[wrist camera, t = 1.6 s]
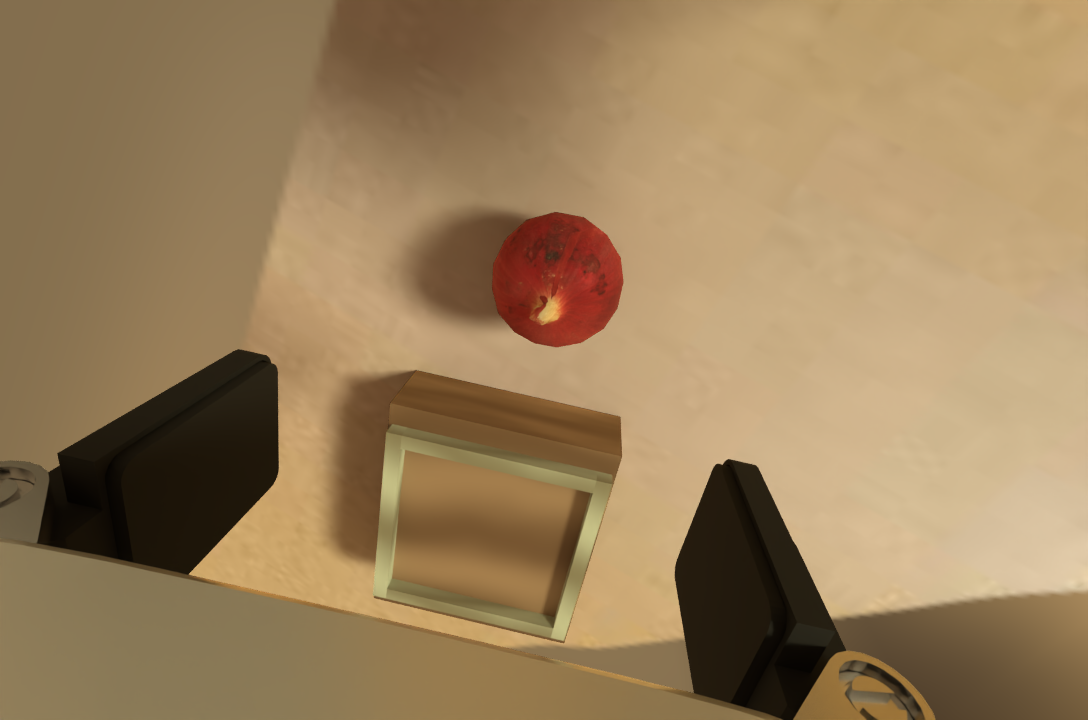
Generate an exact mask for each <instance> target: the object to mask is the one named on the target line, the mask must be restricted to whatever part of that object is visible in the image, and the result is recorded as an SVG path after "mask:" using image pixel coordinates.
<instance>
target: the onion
mask: <svg viewBox="0 0 1088 720" xmlns="http://www.w3.org/2000/svg"><path fill="white" fill-rule="evenodd" d="M622 286H623V274H622V265H621V258H620V256H619V254H618V253H617V251H616V249H615V248H614V246H613V244H612V243H611V241H610V239H609V238H608V236H607V235H606V234H605V233H604V232H603V231H601V230H600V229H599V228H597V227H596V226H595V225H593V224H592V223H591V222H589V221H588V220H587V219H586V218H584V217H579V216H574V215H569V214H563V213H558V212H554V213H550V214H546V215H543V216H539V217H535V218H532V219H528V220H526V221H525V222H524V223H523V224H522V225H521V226H520V227H518V228H517V229H516V230H515V231H514V232H513V233H512V234H511V235H509V236H508V237H507V239H506V240H505V241H504V243H503V245H502V248H501V250H500V252H499V254H498V256H497V258H496V260H495V262H494V264H493V281H492V290H493V294H494V298H495V302H496V306H497V310H498V313H499V315H500V316H501V317H502V318H503V319H504V320H505V322H506V323H507V324H508V325H509V326H510V327H511V329H512V330H513V331H514V332H515V333H517V334H519V335H521V336H523V337H524V338H526V339H528V340H530V341H531V342H533V343H536V344H542V345H547V346H552V347H561V346H566V345H572V344H577V343H581V342H583V341H585V340H586V339H588V338H590V337H591V336H593V335H594V334H596V333H598V332H599V331H601V330H602V329H604V327H605V326H606V324H607V323H608V321H609V320H610V319H611V317H612V316H613V314H614V313H615V311H616V310H617V307H618V304H619V299H620V295H621V290H622Z"/></svg>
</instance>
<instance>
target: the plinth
mask: <svg viewBox="0 0 1088 720" xmlns="http://www.w3.org/2000/svg"><path fill="white" fill-rule="evenodd" d="M621 458H622V444H621V419H620V417H618V416H614V415H610V414H605V413H601V412H597V411H592V410H588V409H583V408H579V407H575V406H570V405H566V404H561V403H557V402H553V401H548V400H544V399H540V398H535V397H531V396H526V395H522V394H518V393H513V392H509V391H505V390H500V389H496V388H491V387H487V386H483V385H478V384H474V383H469V382H465V381H461V380H456V379H452V378H448V377H443V376H439V375H434V374H430V373H426V372H421V371H417V370H416V372H415V373H414V374H413V375H412V376H411V378H410V379H409V380H408V381H407V383H406V384H405V385H404V386H403V388H402V389H401V390H400V391H399V393H398V394H397V395H396V396H395V398H394V399H393V400H392V401H391V403H390V410H389V422H388V430H387V432H386V441H385V453H384V465H383V478H382V490H381V502H380V514H379V527H378V539H377V551H376V563H375V576H374V588H373V596H374V598H376V599H380V600H385V601H389V602H393V603H397V604H401V605H405V606H410V607H414V608H418V609H422V610H426V611H431V612H435V613H439V614H443V615H447V616H451V617H456V618H460V619H464V620H468V621H472V622H477V623H481V624H485V625H489V626H493V627H497V628H502V629H506V630H510V631H514V632H518V633H522V634H527V635H531V636H535V637H539V638H543V639H548V640H552V641H556V642H560V643H564V642H565V639H566V636H567V632H568V629H569V626H570V623H571V619H572V616H573V613H574V610H575V607H576V603H577V600H578V597H579V594H580V590H581V587H582V584H583V581H584V578H585V574H586V571H587V568H588V565H589V561H590V558H591V555H592V552H593V549H594V545H595V542H596V539H597V536H598V532H599V529H600V526H601V523H602V519H603V516H604V513H605V510H606V507H607V503H608V500H609V497H610V494H611V490H612V487H613V484H614V481H615V478H616V474H617V471H618V468H619V465H620V461H621Z"/></svg>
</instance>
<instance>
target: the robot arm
mask: <svg viewBox="0 0 1088 720" xmlns="http://www.w3.org/2000/svg"><path fill="white" fill-rule="evenodd" d="M58 459H59V464H60V466H58V467H57V468H55V469H53V470H52V471H50V472H47V470H45V469H44V468H43V467H42V466H40V465H37V464H34V463H31V462H25V461H0V720H936V719H935V717H934V714H933V712H932V710H931V709H930V707H929V706H928V704H927V703H926V701H925V699H924V698H923V696H922V695H921V694H920V693H919V692H918V691H917V690H916V689H915V688H914V687H913V685H912V684H911V683H910V682H909V681H908V680H906V679H905V678H904V677H903V676H902V675H900V674H899V673H898V672H896V671H895V670H894V669H893V668H891V667H890V666H888V665H886V664H885V663H883V662H881V661H880V660H878V659H876V658H873V657H871V656H868V655H866V654H863V653H859V652H853V651H846V649H845V647H844V645H843V643H842V641H841V638H840V636H839V634H838V632H837V630H836V628H835V626H834V624H833V622H832V620H831V617H830V615H829V613H828V611H827V609H826V607H825V605H824V603H823V601H822V599H821V596H820V594H819V592H818V590H817V588H816V586H815V584H814V582H813V580H812V578H811V576H810V573H809V571H808V569H807V567H806V565H805V563H804V561H803V559H802V557H801V555H800V552H799V550H798V548H797V546H796V545H795V543H794V542H793V540H792V538H791V536H790V534H789V532H788V530H787V528H786V525H785V523H784V521H783V519H782V517H781V515H780V513H779V511H778V509H777V506H776V504H775V502H774V500H773V498H772V496H771V494H770V492H769V490H768V487H767V485H766V483H765V481H764V479H763V477H762V475H761V473H760V471H759V469H758V467H757V466H756V465H752V464H748V463H744V462H739V461H735V460H730V459H728V460H726V461H725V462H724V464H723V465H721V464H716V465H715V466H714V468H713V470H712V472H711V475H710V478H709V480H708V483H707V485H706V488H705V490H704V493H703V495H702V498H701V500H700V503H699V505H698V508H697V510H696V513H695V516H694V518H693V521H692V523H691V526H690V528H689V531H688V533H687V536H686V538H685V541H684V543H683V546H682V548H681V551H680V554H679V556H678V559H677V562H676V566H675V582H676V588H677V594H678V600H679V606H680V612H681V618H682V624H683V630H684V636H685V642H686V648H687V654H688V659H689V666H690V672H691V678H692V684H693V690H694V693H691V692H688V691H683V690H679V689H675V688H671V687H666V686H662V685H658V684H653V683H650V682H646V681H642V680H638V679H633V678H630V677H626V676H622V675H618V674H614V673H610V672H606V671H601V670H597V669H593V668H588V667H585V666H580V665H576V664H572V663H568V662H564V661H559V660H555V659H551V658H547V657H542V656H537V655H534V654H530V653H526V652H521V651H517V650H513V649H509V648H505V647H500V646H496V645H492V644H488V643H484V642H479V641H475V640H471V639H467V638H462V637H458V636H454V635H449V634H445V633H441V632H436V631H432V630H428V629H424V628H419V627H415V626H411V625H406V624H402V623H398V622H393V621H389V620H385V619H380V618H376V617H372V616H367V615H363V614H359V613H354V612H350V611H346V610H341V609H337V608H333V607H328V606H324V605H320V604H315V603H311V602H307V601H302V600H298V599H293V598H289V597H285V596H280V595H276V594H271V593H267V592H262V591H258V590H253V589H249V588H245V587H240V586H236V585H231V584H227V583H222V582H218V581H214V580H209V579H205V578H200V577H196V576H191V575H188V574H189V573H190V572H191V571H192V570H193V569H194V568H195V567H196V566H197V565H198V564H199V563H200V562H201V561H202V559H203V558H204V557H205V556H206V555H207V554H208V553H209V552H210V551H211V550H212V549H213V548H214V547H215V546H216V545H217V544H218V543H219V542H220V540H221V539H222V538H223V537H224V536H225V535H226V534H227V533H228V532H229V531H230V530H231V529H232V528H233V527H234V526H235V525H236V524H237V523H238V521H239V520H240V519H241V518H242V517H243V516H244V515H245V514H246V513H247V512H248V511H249V510H250V509H251V508H252V507H253V506H254V505H255V504H256V502H257V501H258V500H259V499H260V498H261V497H262V496H263V495H264V494H265V493H266V492H267V491H268V490H269V489H270V488H271V486H272V485H273V484H274V482H275V480H276V478H277V475H278V469H279V454H278V371H277V367H276V365H274V364H271V361H270V358H269V357H268V356H267V355H262V354H258V353H253V352H249V351H244V350H239V349H238V350H235V351H233V352H232V353H230V354H228V355H227V356H225V357H223V358H221V359H219V360H218V361H216V362H214V363H213V364H211V365H209V366H207V367H206V368H204V369H202V370H201V371H199V372H197V373H195V374H194V375H192V376H190V377H188V378H187V379H185V380H183V381H182V382H180V383H178V384H176V385H175V386H173V387H171V388H169V389H168V390H166V391H164V392H163V393H161V394H159V395H157V396H156V397H154V398H152V399H151V400H149V401H147V402H145V403H144V404H142V405H140V406H138V407H137V408H135V409H133V410H132V411H130V412H128V413H126V414H125V415H123V416H121V417H119V418H118V419H116V420H114V421H112V422H111V423H109V424H107V425H106V426H104V427H102V428H101V429H99V430H97V431H95V432H93V433H92V434H90V435H88V436H87V437H85V438H83V439H81V440H80V441H78V442H76V443H75V444H73V445H71V446H69V447H68V448H66V449H64V450H63V451H61V452H59V453H58Z"/></svg>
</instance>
